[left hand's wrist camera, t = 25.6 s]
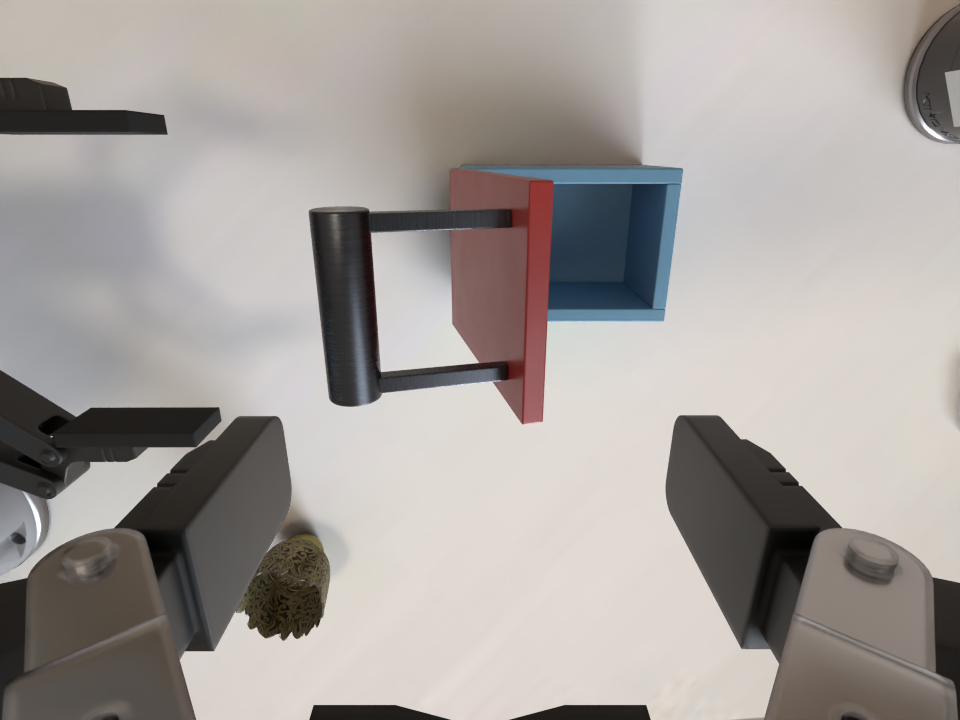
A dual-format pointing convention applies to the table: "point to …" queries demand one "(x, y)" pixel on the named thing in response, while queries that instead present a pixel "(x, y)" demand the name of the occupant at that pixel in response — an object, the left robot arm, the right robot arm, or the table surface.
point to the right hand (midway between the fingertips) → (182, 289)
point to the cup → (288, 588)
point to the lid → (475, 290)
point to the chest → (608, 238)
